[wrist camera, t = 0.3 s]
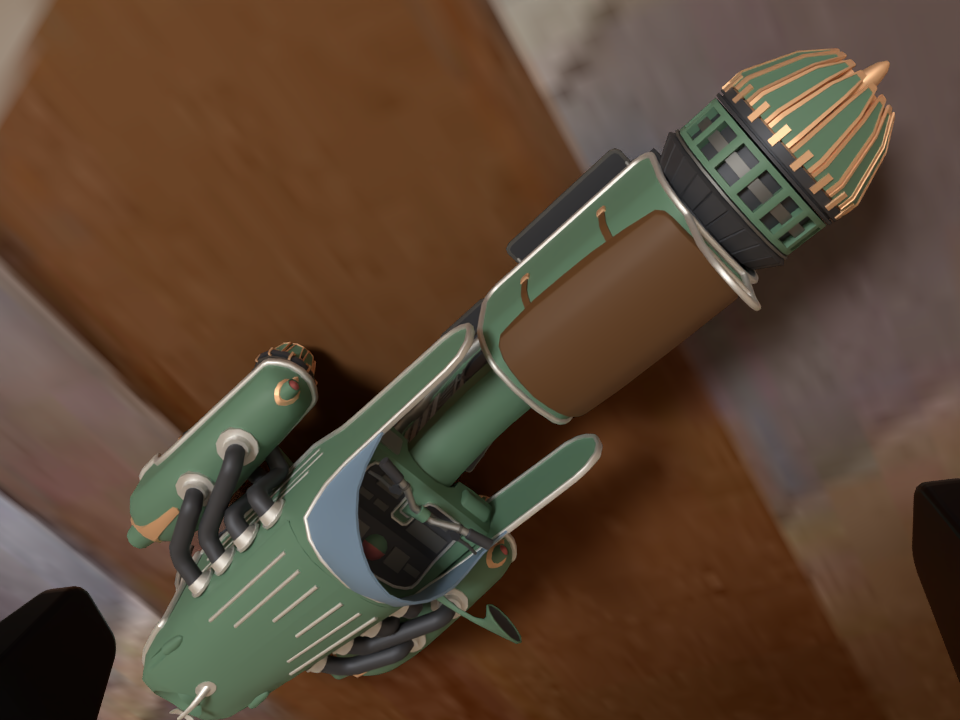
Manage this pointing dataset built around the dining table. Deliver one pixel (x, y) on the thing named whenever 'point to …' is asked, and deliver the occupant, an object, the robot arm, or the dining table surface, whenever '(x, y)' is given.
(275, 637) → the hoverbike
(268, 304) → the dining table surface
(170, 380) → the dining table surface
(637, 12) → the dining table surface
